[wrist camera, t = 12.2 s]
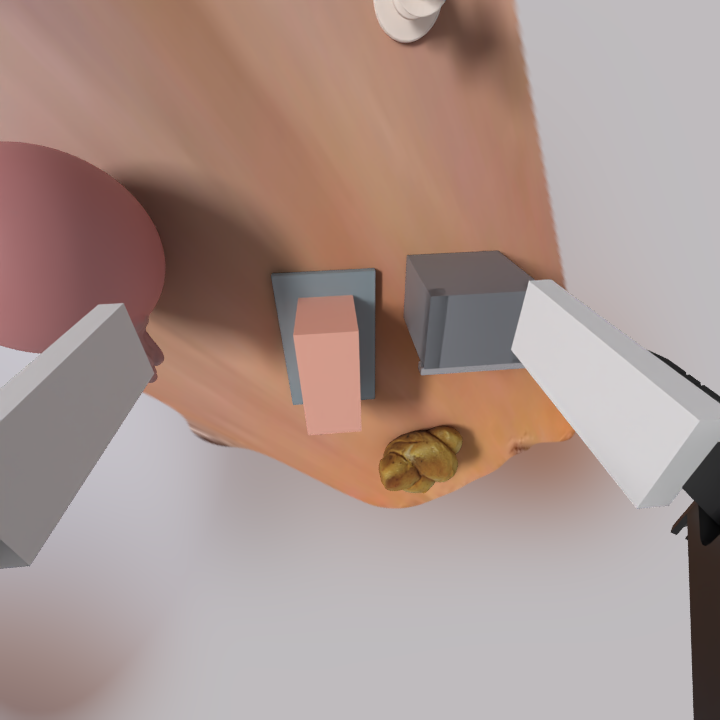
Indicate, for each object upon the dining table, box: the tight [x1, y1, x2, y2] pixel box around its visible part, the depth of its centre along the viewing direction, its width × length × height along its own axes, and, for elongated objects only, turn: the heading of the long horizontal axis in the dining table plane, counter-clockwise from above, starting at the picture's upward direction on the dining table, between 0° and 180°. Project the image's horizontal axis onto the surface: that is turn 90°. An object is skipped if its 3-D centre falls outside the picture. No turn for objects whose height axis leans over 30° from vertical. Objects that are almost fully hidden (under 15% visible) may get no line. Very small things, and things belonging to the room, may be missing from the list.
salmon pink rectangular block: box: [293, 295, 361, 435], centre depth 40 cm, size 13×6×8 cm, turn 1°
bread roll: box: [379, 426, 463, 493], centre depth 53 cm, size 13×10×8 cm
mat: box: [271, 268, 375, 405], centre depth 43 cm, size 18×11×1 cm, turn 1°
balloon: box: [0, 142, 166, 383], centre depth 29 cm, size 15×20×15 cm
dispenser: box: [404, 251, 534, 375], centre depth 37 cm, size 8×10×10 cm
